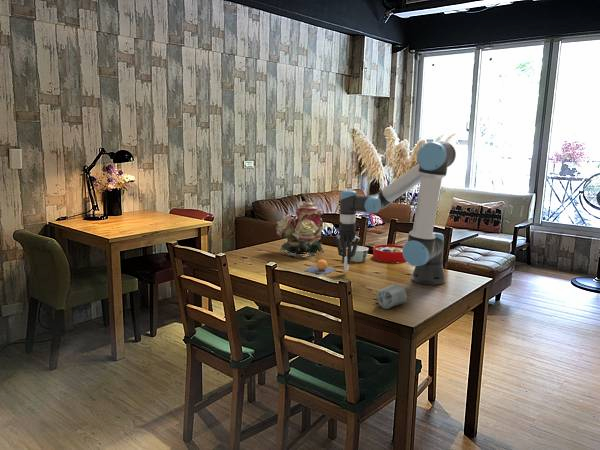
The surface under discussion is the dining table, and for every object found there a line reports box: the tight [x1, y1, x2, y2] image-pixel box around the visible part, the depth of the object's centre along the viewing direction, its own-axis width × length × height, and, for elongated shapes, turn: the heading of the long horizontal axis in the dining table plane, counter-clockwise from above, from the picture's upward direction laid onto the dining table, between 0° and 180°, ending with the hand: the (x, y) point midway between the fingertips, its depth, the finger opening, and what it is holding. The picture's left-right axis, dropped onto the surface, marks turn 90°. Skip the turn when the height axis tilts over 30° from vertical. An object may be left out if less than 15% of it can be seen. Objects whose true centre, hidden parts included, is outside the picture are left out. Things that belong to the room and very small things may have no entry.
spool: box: [376, 284, 408, 310], centre depth 202 cm, size 14×10×10 cm
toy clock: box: [372, 244, 407, 263], centre depth 282 cm, size 20×6×20 cm
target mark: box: [304, 265, 336, 275], centre depth 255 cm, size 12×12×1 cm
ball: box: [316, 259, 328, 271], centre depth 254 cm, size 6×6×6 cm
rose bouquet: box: [275, 200, 325, 259], centre depth 289 cm, size 26×29×30 cm
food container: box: [351, 245, 369, 263], centre depth 277 cm, size 12×12×6 cm
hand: (346, 270), depth 248 cm, fingers closed
